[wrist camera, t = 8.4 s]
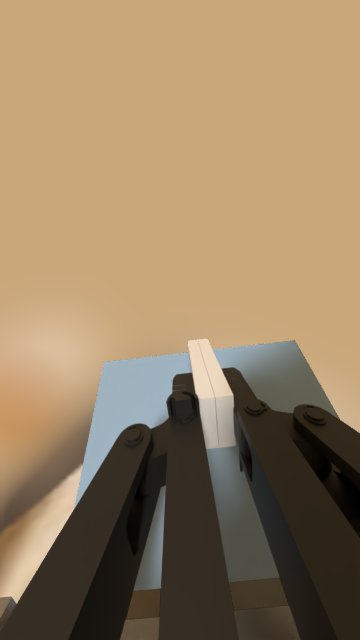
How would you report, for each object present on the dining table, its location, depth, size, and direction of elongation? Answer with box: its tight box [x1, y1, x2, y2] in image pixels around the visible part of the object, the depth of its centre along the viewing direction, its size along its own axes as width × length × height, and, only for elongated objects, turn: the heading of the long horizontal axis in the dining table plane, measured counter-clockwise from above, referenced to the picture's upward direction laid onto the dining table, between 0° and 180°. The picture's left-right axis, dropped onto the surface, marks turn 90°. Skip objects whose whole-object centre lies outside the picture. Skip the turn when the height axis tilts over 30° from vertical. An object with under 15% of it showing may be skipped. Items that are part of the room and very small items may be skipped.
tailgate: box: [74, 340, 340, 591], centre depth 13 cm, size 17×2×12 cm
